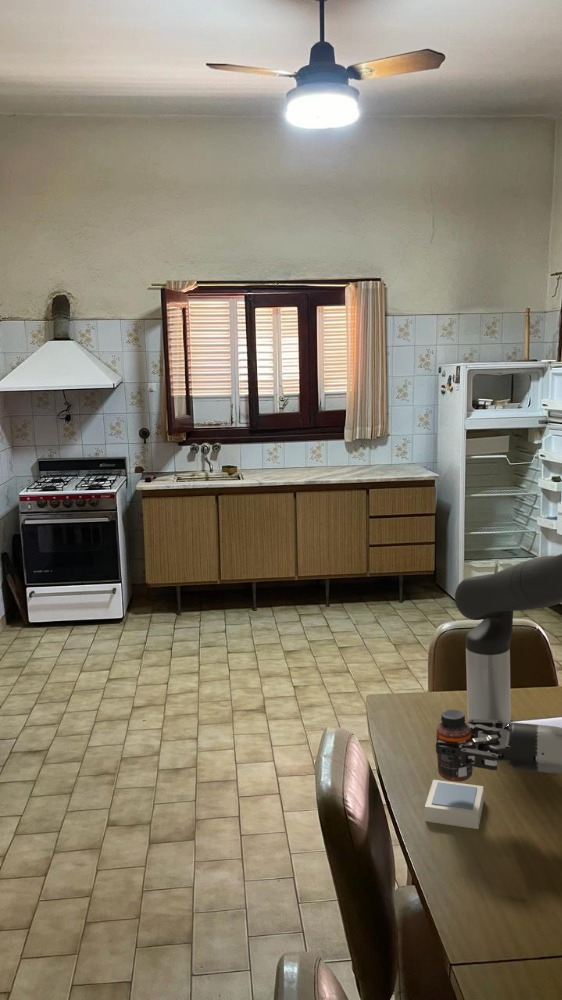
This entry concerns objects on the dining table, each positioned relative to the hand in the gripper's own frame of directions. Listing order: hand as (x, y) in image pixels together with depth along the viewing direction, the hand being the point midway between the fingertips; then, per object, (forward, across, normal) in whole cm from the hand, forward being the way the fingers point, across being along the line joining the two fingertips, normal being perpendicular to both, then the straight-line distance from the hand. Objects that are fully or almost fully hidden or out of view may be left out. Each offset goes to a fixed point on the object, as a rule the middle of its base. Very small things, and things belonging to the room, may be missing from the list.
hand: (439, 738), depth 132 cm
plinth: (-2, 0, +14) cm, 14 cm away
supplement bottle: (-2, 0, +7) cm, 7 cm away
